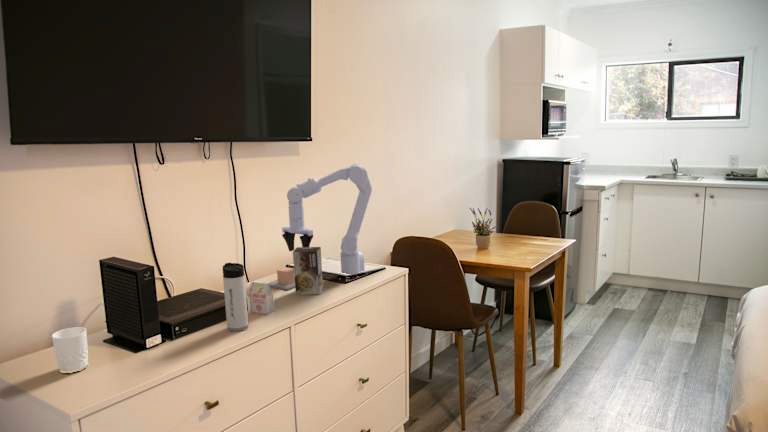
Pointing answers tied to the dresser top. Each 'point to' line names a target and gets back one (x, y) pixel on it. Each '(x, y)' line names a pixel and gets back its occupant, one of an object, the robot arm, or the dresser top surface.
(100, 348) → the dresser top surface
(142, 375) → the dresser top surface
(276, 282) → the coaster
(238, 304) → the travel mug
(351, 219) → the robot arm
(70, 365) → the white cup
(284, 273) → the cube
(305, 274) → the coffee box
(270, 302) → the white printed carton
